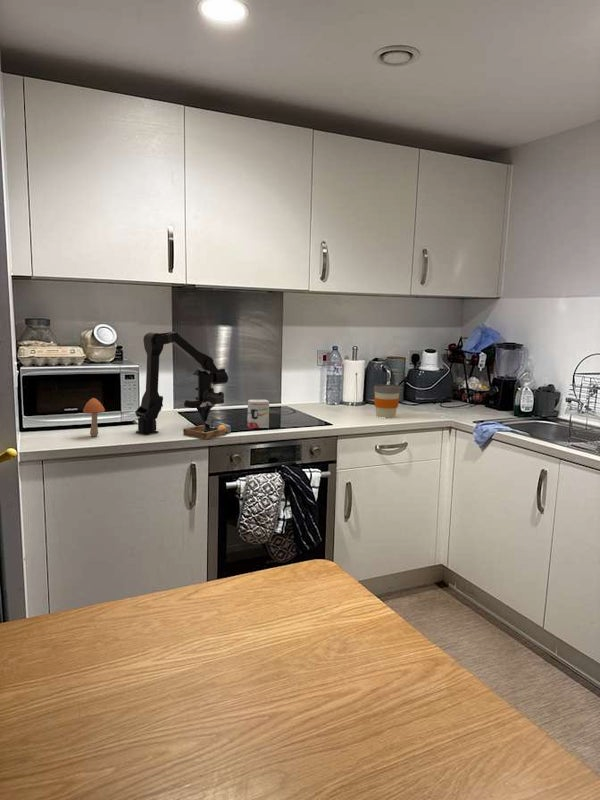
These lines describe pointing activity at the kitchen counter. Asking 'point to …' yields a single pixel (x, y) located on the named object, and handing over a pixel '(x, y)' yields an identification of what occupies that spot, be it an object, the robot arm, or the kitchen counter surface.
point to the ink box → (258, 414)
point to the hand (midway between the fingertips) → (204, 421)
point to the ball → (222, 427)
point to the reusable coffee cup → (386, 400)
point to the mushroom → (93, 414)
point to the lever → (217, 424)
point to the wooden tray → (199, 433)
